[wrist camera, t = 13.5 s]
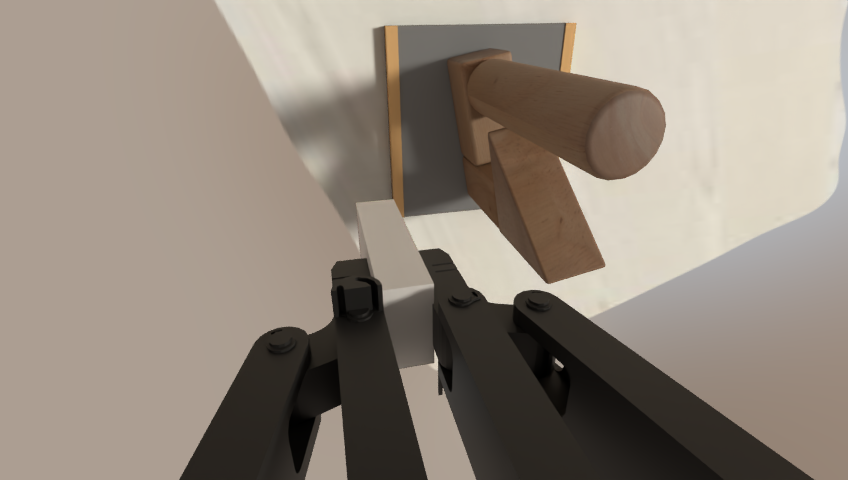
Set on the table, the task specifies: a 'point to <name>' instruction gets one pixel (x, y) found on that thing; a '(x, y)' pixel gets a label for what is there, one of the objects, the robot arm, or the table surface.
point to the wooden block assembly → (546, 150)
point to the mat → (447, 102)
